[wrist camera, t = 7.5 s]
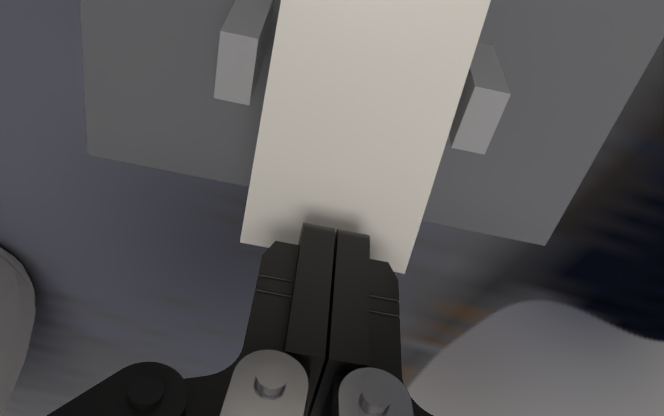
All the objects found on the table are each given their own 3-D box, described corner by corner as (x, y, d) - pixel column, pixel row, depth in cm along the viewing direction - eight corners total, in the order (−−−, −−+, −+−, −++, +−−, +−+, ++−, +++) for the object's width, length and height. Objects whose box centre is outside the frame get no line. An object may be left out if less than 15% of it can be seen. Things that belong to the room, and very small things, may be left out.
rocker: (308, -135, 13) (304, -139, 11) (498, -89, 13) (518, -87, 11) (248, 211, 16) (239, 242, 15) (399, 241, 16) (404, 273, 15)
